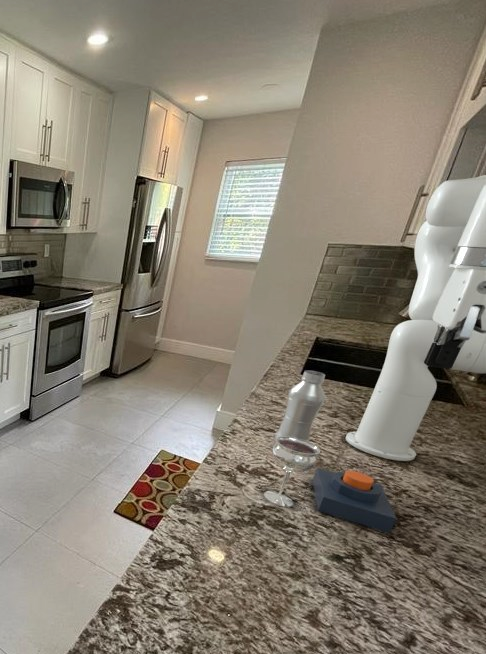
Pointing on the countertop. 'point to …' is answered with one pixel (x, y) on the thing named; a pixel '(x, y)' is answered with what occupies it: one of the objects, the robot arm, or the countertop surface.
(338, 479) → the button base
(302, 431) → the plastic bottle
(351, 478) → the orange button cap
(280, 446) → the wineglass
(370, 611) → the countertop surface
